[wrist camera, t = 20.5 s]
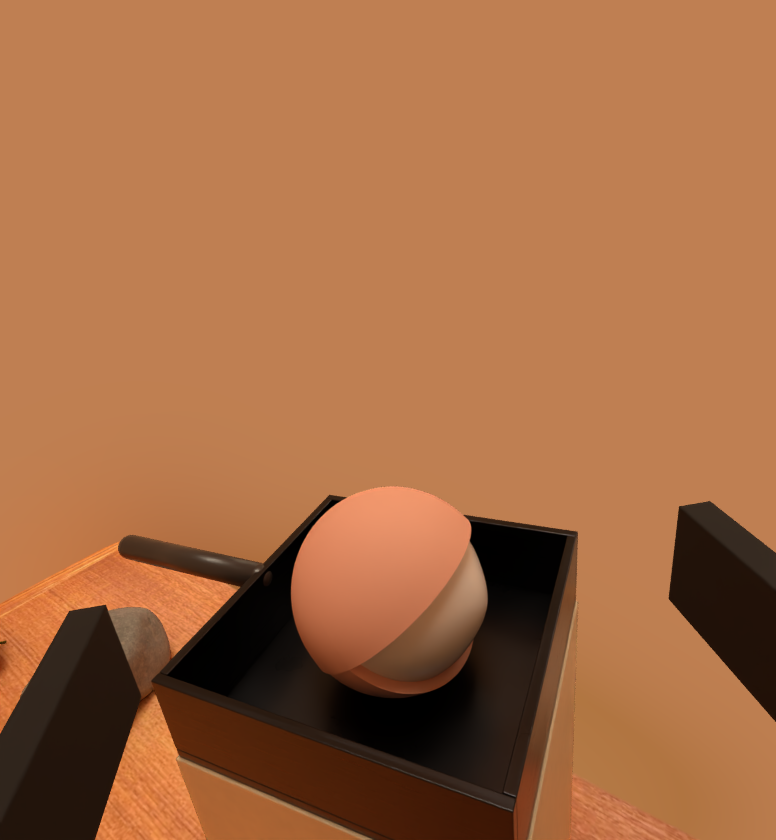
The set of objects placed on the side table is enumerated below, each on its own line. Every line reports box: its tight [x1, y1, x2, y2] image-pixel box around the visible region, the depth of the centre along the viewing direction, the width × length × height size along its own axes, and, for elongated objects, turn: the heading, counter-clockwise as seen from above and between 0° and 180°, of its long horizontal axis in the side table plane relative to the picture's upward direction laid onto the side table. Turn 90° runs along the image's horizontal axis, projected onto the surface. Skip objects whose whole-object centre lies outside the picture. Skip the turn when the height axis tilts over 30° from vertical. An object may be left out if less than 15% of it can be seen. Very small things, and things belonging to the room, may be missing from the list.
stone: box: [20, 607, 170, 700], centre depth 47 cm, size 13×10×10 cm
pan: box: [118, 495, 578, 840], centre depth 25 cm, size 22×13×4 cm, turn 66°
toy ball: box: [291, 487, 488, 698], centre depth 22 cm, size 8×8×8 cm
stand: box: [176, 601, 578, 840], centre depth 28 cm, size 13×13×19 cm
